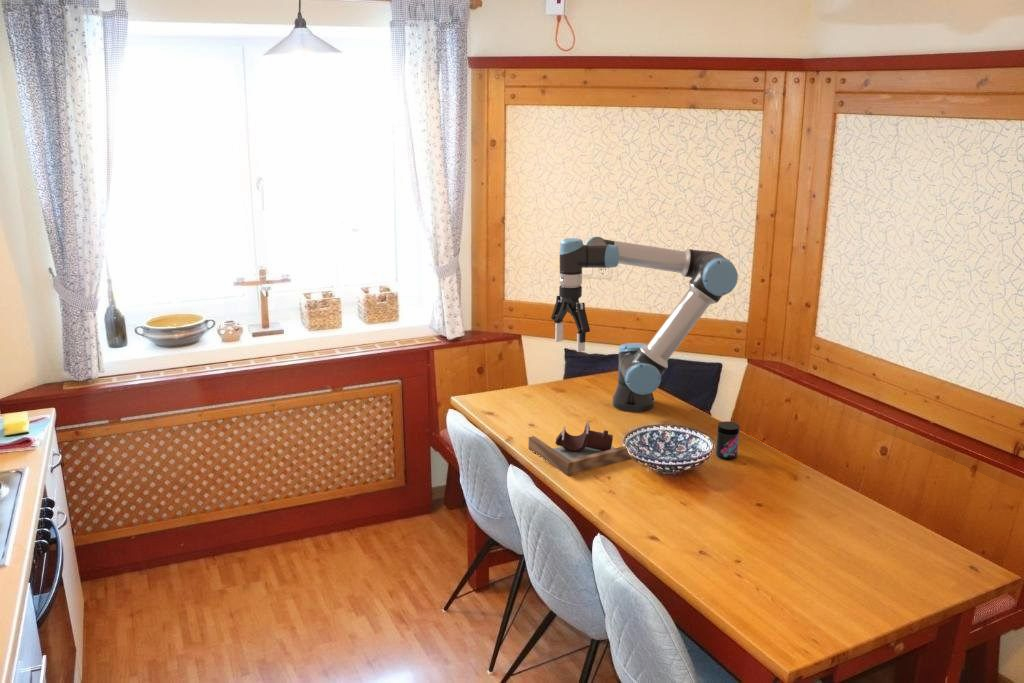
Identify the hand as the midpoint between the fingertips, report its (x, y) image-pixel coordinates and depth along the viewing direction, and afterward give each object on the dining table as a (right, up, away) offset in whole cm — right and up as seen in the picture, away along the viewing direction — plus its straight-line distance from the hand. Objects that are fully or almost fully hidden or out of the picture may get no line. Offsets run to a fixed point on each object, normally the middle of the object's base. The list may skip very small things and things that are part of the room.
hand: (569, 346), depth 294 cm
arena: (+2, -34, -21) cm, 40 cm away
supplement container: (+48, -35, -23) cm, 63 cm away
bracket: (+3, -34, -19) cm, 39 cm away
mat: (+3, -33, -18) cm, 38 cm away
